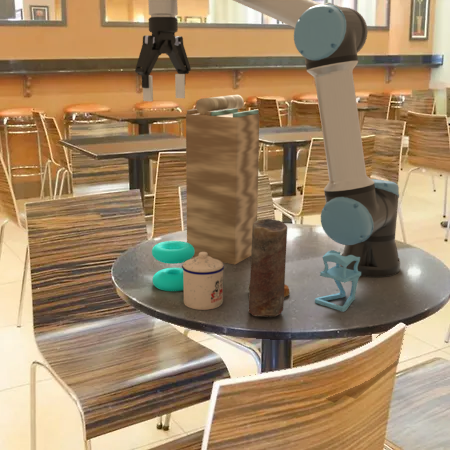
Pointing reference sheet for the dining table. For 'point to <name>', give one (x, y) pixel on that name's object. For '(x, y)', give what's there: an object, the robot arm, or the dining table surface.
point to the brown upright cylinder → (267, 268)
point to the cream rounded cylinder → (219, 103)
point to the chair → (340, 278)
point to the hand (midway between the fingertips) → (164, 99)
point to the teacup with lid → (203, 282)
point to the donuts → (172, 255)
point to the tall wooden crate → (222, 182)
